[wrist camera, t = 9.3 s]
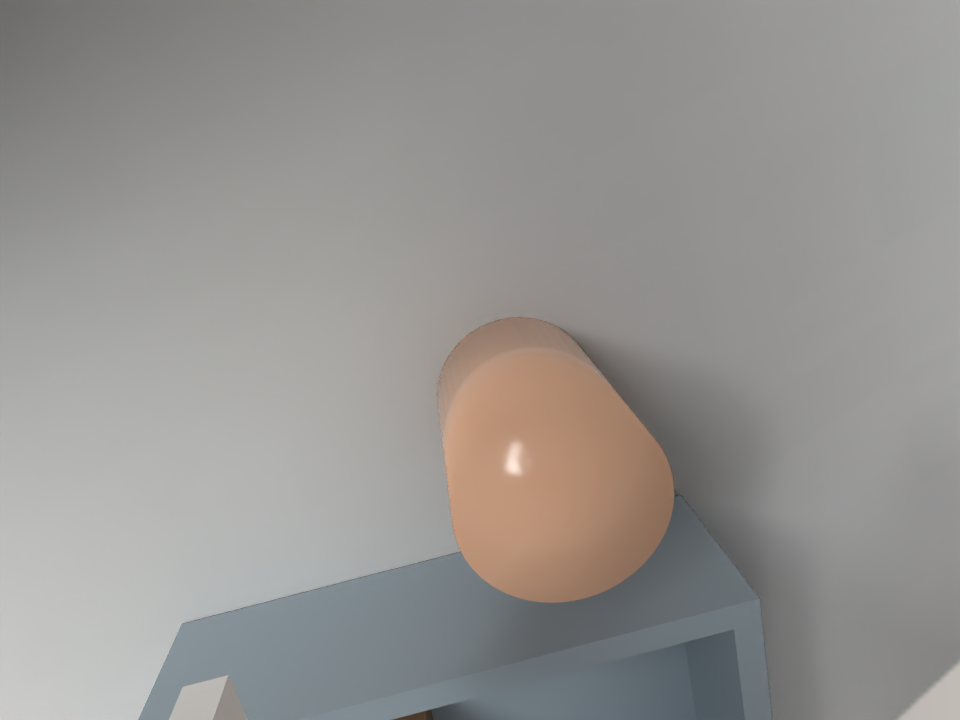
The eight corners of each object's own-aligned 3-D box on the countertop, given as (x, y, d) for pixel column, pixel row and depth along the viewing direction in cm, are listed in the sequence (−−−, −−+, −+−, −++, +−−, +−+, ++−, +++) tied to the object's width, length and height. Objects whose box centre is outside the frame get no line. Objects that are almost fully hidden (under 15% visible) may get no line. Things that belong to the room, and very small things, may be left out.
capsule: (420, 339, 21) (426, 436, 14) (577, 300, 21) (658, 378, 14) (457, 479, 22) (480, 625, 16) (603, 442, 22) (686, 571, 16)
